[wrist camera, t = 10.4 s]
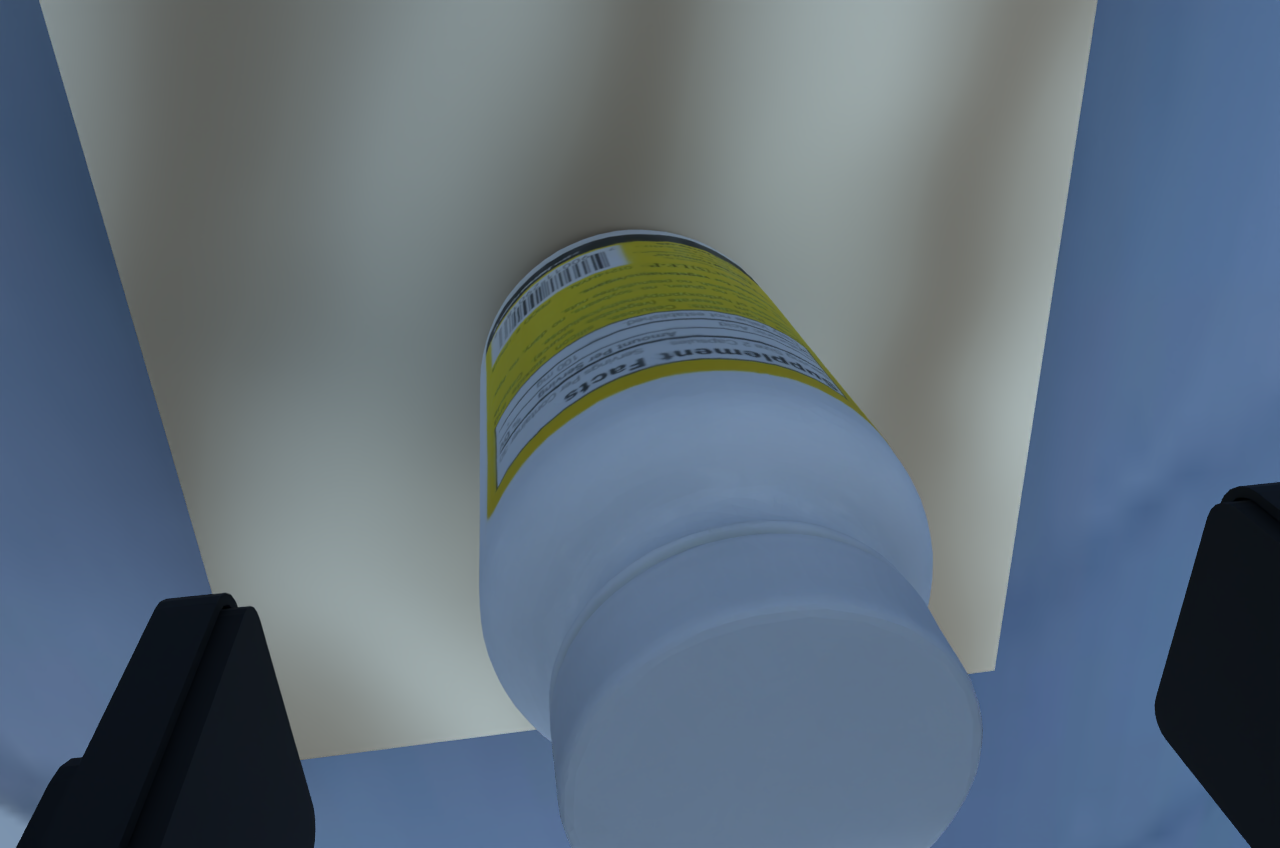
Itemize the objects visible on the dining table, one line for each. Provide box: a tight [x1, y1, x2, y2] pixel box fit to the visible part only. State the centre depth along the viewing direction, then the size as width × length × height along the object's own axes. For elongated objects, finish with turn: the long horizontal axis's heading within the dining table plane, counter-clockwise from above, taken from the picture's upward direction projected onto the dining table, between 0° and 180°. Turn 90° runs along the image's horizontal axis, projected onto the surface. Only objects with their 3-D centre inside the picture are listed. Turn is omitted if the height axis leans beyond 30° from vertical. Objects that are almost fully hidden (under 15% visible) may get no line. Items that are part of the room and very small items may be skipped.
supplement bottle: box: [479, 230, 983, 848], centre depth 13 cm, size 5×5×10 cm
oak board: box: [39, 0, 1097, 760], centre depth 18 cm, size 16×16×2 cm
